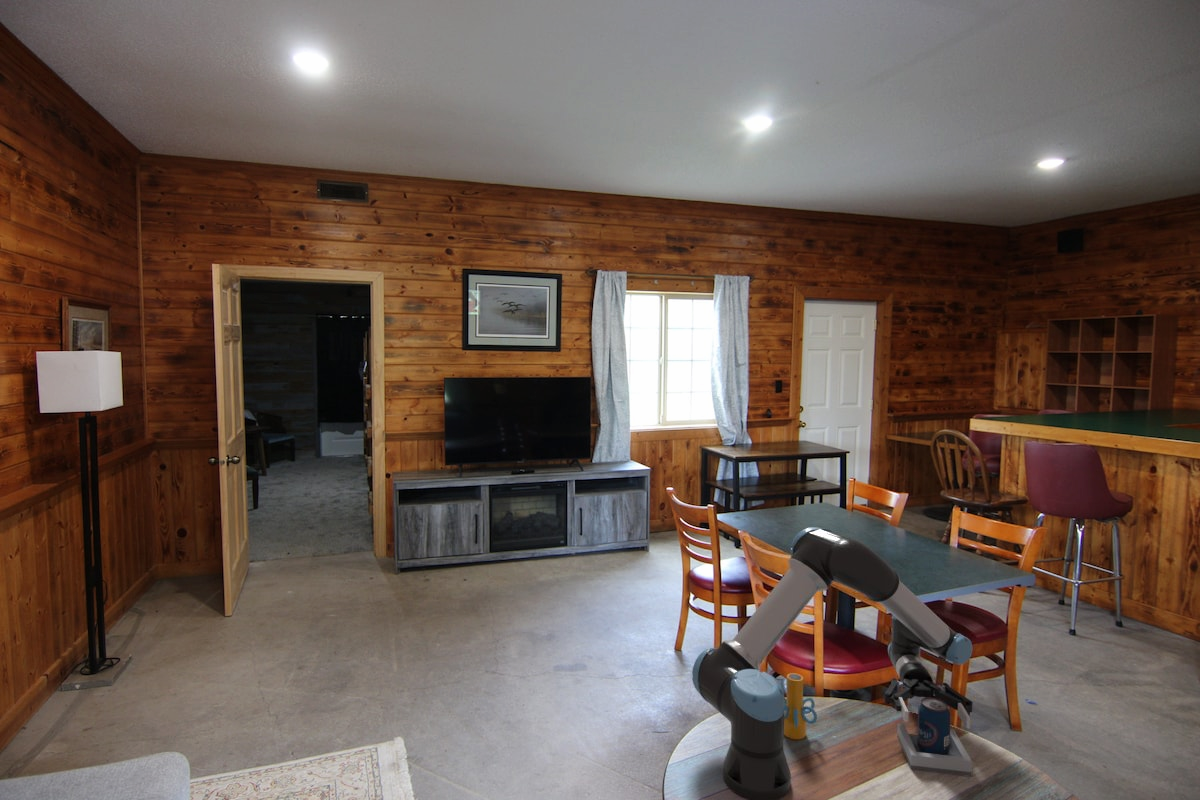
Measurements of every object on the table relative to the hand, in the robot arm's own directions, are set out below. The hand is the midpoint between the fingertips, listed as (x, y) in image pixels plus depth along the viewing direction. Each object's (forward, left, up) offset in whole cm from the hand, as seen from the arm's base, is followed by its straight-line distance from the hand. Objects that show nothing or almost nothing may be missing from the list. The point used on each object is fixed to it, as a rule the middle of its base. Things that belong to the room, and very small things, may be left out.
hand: (937, 720), depth 156 cm
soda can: (0, +1, -9) cm, 9 cm away
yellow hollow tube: (-32, +4, -10) cm, 34 cm away
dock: (0, +1, -10) cm, 10 cm away
